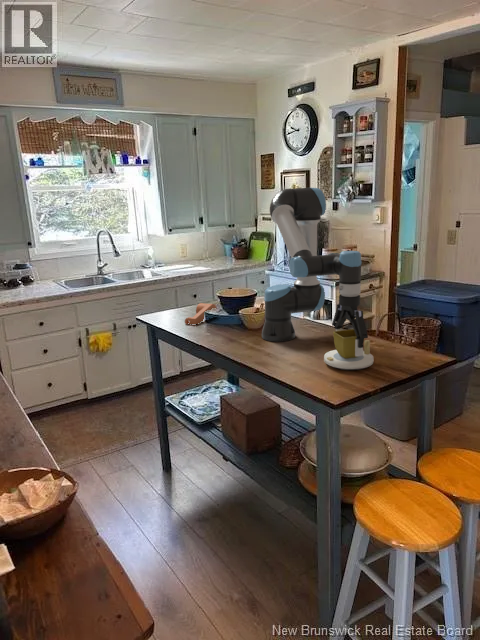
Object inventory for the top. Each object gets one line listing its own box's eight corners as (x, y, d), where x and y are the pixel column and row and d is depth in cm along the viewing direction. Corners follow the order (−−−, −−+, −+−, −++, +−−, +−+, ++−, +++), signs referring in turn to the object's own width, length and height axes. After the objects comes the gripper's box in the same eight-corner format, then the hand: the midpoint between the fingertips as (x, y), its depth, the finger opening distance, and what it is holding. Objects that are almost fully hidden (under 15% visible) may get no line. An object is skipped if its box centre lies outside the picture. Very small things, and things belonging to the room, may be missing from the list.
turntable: (315, 356, 183) (315, 340, 182) (355, 350, 189) (356, 334, 187) (340, 372, 167) (340, 354, 165) (383, 364, 173) (384, 347, 171)
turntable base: (324, 361, 182) (324, 358, 182) (353, 356, 186) (353, 353, 186) (342, 372, 170) (342, 369, 170) (373, 367, 174) (373, 364, 174)
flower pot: (364, 358, 175) (365, 335, 172) (343, 361, 172) (343, 337, 170) (353, 351, 183) (353, 328, 181) (332, 354, 181) (332, 331, 178)
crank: (204, 315, 261) (204, 301, 259) (217, 317, 257) (216, 302, 255) (183, 324, 244) (181, 309, 242) (195, 326, 240) (194, 311, 238)
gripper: (323, 289, 182) (323, 342, 187) (360, 302, 159) (358, 362, 164) (340, 287, 184) (339, 340, 189) (379, 299, 161) (377, 358, 167)
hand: (348, 350), depth 177 cm, fingers open, 13 cm apart
